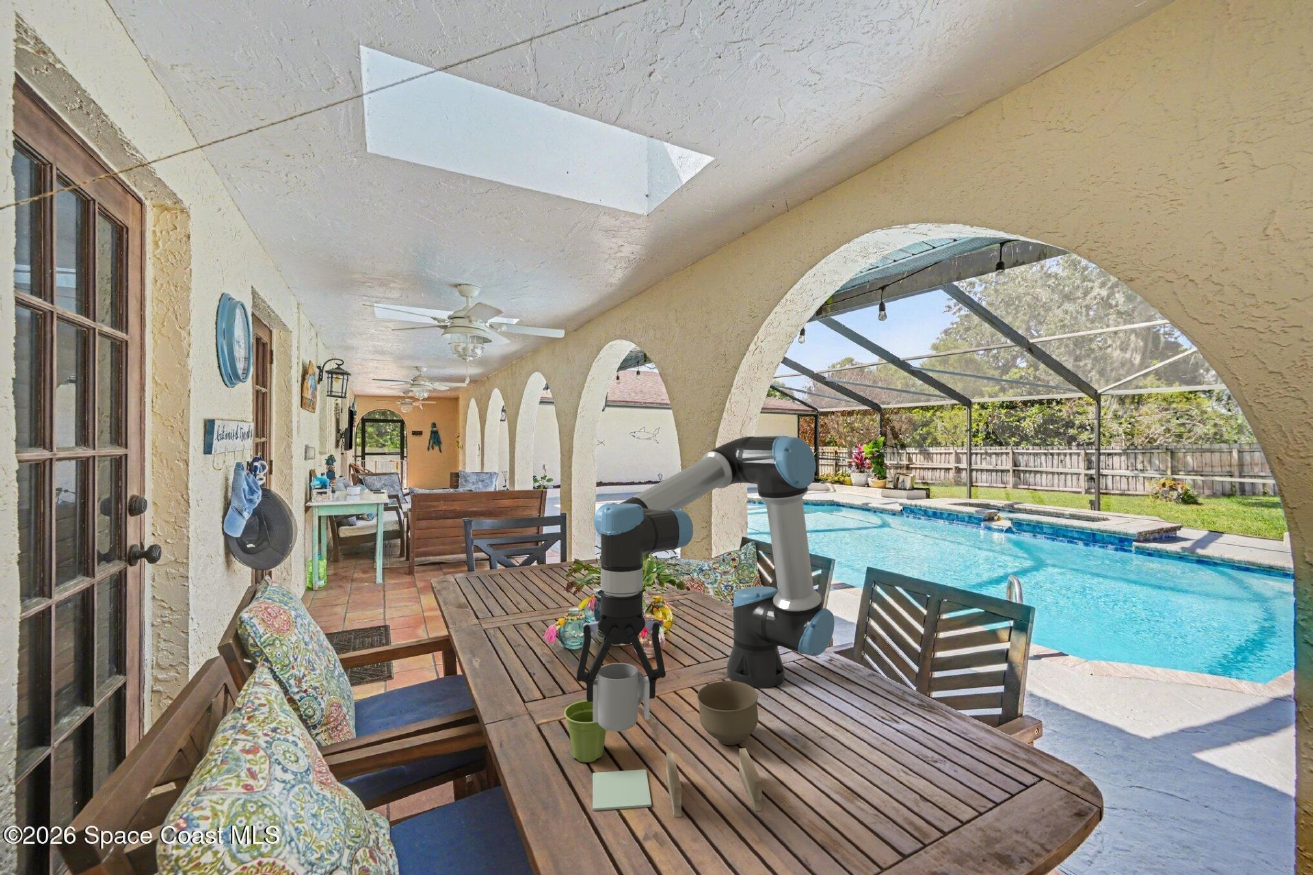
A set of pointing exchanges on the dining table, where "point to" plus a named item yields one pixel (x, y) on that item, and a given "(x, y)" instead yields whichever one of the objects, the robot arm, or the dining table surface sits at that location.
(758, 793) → the holder rails
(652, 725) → the dining table surface
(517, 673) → the dining table surface
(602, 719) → the cup
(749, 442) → the robot arm
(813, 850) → the dining table surface
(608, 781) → the mat
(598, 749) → the plant pot
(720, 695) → the bowl
